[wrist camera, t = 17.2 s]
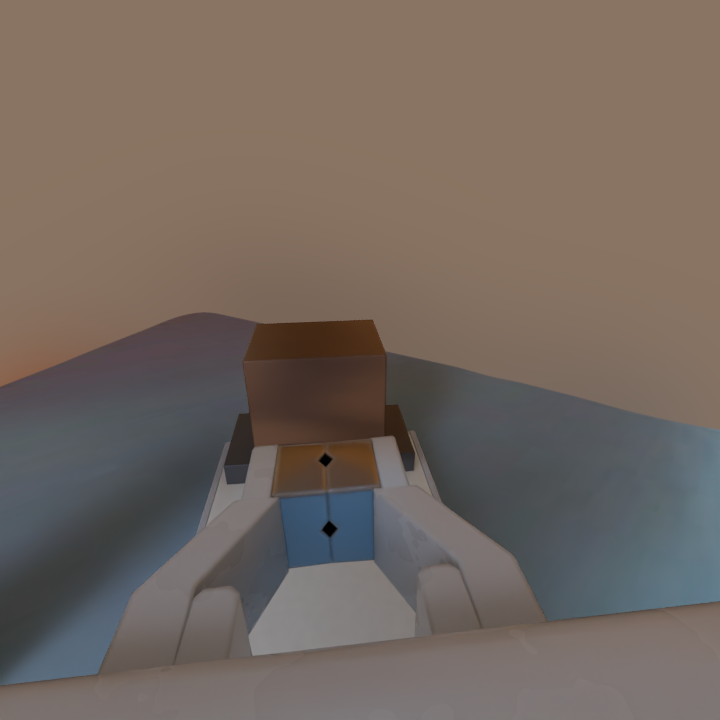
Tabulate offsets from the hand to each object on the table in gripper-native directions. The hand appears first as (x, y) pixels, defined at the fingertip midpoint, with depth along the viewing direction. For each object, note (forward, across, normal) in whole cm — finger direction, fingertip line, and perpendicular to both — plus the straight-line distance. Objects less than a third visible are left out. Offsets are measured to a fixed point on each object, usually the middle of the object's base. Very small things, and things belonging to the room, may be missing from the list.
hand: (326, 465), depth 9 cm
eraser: (+17, +1, +12) cm, 21 cm away
